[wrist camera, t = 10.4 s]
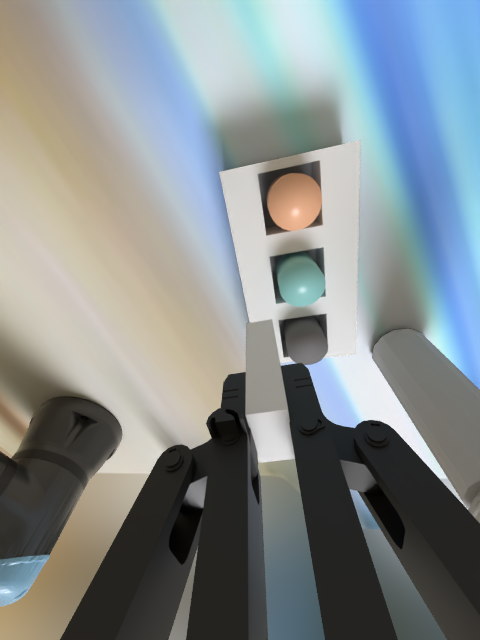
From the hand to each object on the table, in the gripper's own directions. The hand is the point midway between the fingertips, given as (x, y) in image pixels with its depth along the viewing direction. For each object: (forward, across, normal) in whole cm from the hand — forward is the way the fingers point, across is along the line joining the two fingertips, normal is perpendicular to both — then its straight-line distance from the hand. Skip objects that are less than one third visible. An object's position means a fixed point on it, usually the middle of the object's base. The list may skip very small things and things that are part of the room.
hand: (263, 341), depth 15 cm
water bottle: (+19, +18, -17) cm, 31 cm away
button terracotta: (+16, +4, +6) cm, 18 cm away
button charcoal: (+16, +4, -9) cm, 19 cm away
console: (+19, +4, -2) cm, 19 cm away
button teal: (+16, +4, -2) cm, 17 cm away
